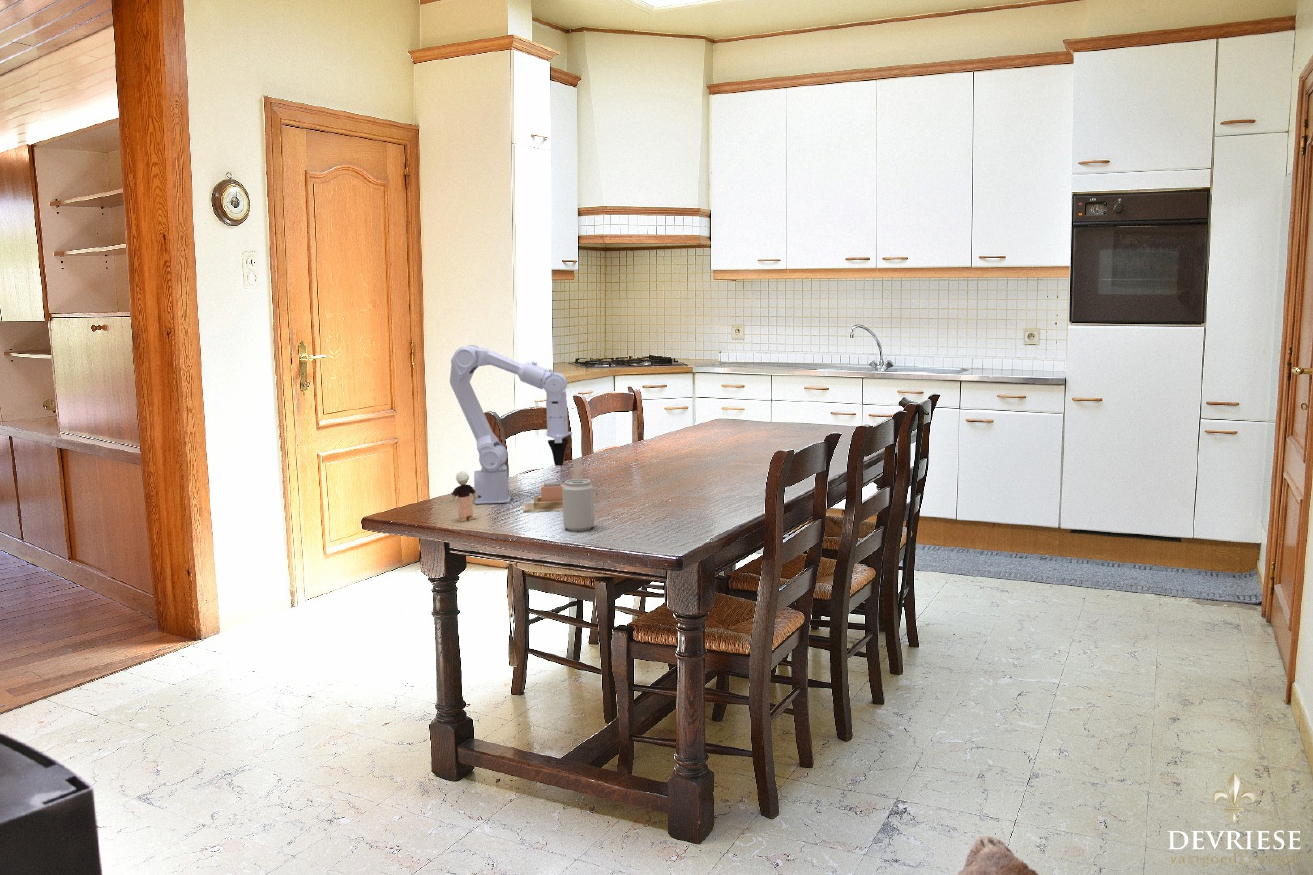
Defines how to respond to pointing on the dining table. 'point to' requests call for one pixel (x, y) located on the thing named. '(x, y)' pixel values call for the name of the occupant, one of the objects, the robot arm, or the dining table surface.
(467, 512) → the grandmother figurine
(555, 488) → the salmon block
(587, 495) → the can
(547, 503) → the frame
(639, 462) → the dining table surface
